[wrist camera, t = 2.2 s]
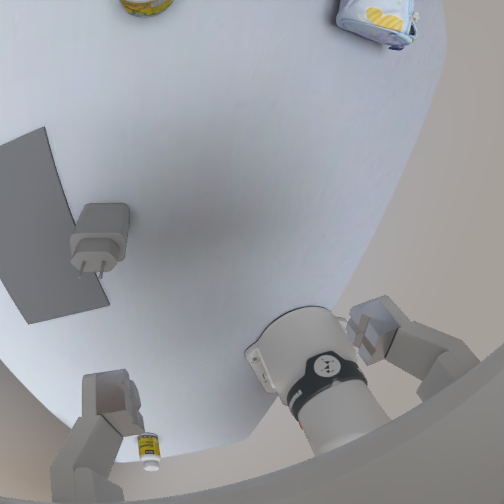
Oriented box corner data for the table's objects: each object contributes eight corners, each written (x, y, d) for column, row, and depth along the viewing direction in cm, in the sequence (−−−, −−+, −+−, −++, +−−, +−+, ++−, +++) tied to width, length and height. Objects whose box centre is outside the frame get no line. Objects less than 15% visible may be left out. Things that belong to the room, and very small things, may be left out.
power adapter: (83, 203, 31) (56, 261, 21) (129, 203, 33) (120, 261, 23) (84, 228, 33) (62, 292, 23) (129, 228, 34) (122, 293, 25)
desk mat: (109, 303, 39) (109, 305, 38) (28, 322, 36) (28, 324, 36) (44, 126, 25) (43, 127, 25) (-45, 170, 23) (-46, 171, 23)
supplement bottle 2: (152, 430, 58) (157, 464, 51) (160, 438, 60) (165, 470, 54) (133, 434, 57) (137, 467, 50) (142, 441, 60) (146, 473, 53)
